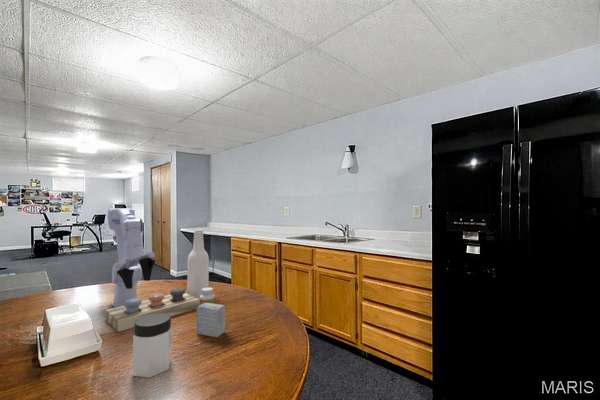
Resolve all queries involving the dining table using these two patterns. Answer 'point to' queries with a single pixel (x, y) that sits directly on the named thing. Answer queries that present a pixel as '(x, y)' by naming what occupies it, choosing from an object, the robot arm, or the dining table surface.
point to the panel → (150, 311)
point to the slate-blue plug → (132, 305)
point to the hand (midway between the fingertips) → (138, 284)
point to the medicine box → (211, 319)
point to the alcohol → (197, 266)
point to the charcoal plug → (177, 294)
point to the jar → (151, 345)
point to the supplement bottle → (207, 296)
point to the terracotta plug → (156, 299)
